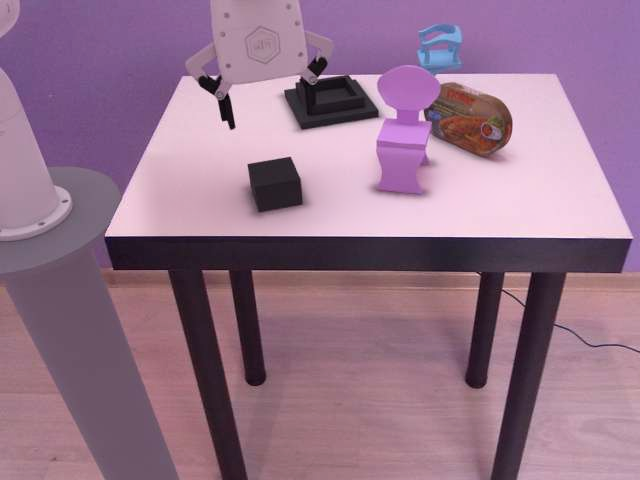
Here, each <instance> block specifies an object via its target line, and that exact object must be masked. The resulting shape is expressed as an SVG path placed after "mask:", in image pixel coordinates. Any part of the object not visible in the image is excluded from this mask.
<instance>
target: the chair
mask: <svg viewBox="0 0 640 480" xmlns="http://www.w3.org/2000/svg"><path fill="white" fill-rule="evenodd" d="M461 30H462V29H461V28H460V27H459V26H457V25H455V24H451V23H450V24H449V23H437V24H434V25H431V26H428V27H427V28H425V29H423V30H418V31H417V33H418V35H419V38H420V49H417V50H416V57H417V60H418V63H419V64H418V65H419V66H418V67H420V68H423V69H424V70H426V71H428V72H429V73H431V74H432V75H433V76H434V77H436V76H437V75H438V74H440V73H443V72H446V71H450V70H461V69H462V65H463V63H462V61H461V58H460V57H459V52H460V49H461V47H462V43H463V34H462V31H461ZM434 32H442V34H439V35H437V36H435V37H433V38H432V39H430V40H427V41H426V39H425V37H426V36H428V35H430V34H432V33H434ZM443 44H444V45H445V44H446V45H448V48H443V49H430V48H432V47H435V46H438V45H443ZM452 82H453V83H457V82H456V81H452ZM442 84H443V83H440V85H442Z"/></svg>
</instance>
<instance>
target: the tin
mask: <svg viewBox="0 0 640 480" xmlns="http://www.w3.org/2000/svg"><path fill="white" fill-rule="evenodd" d="M453 82H454V81H451V82H444V83H441V84H442V85H440V86H441V90H440V93H439V96H438V97H437V99H436V100H435V101H434V102H433V103H432V104H431V105H430V106H429V108H426V109H423V110H422V111H423V116H424V121H430V122H432V126H431V133H433V135H434V136H436V137H437V138H439V139H441V140H443V141H446V142H448V143H450V144H453V145H455V146H457V147H460V148H462V149H464V150H466V151H469V152H471V153H473V154H475V155H478V156H482V157H486V156H487V157H488V156H491V155H494V154H496V153H497V151H500V150H502V149H504V148H505V147H506V145H507V144H509V142H510V140H511V137H512V134H513V127H514V126H513V125H514V124H513V122H514V121H513V116H512V113H511V111H510V109H509V107H507V105H506V103H504V101H502V100H501V99H500V98H498V97H496V96H493V95H490V94H488V93H485V92H482V91H479V90H476V89H474V88H471V87H468V86H465V85H462V84H460V83H457V82H456V83H453Z"/></svg>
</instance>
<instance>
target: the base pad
mask: <svg viewBox="0 0 640 480" xmlns="http://www.w3.org/2000/svg"><path fill="white" fill-rule="evenodd" d="M283 92H284V97H285V100H286V101H287V103H288V106H289V108H290V110H291V112H292V115H294V117H295V119H296V122H297V123H298V125H299V128H300V129H301V130H305V129H313V128H319V127H325V126H330V125H336V124H342V123H349V122H355V121H361V120H366V119H368V120H369V119H373V118H379V116H380V115H379V114H380V112H379V108H378V107H377V106H376V104H375V103H374V102H373V101H372V99H371V98H370V96H369V95H368V94H367V93H366V91H365V90H364V89H363V87H362V86H361V84H360V83H359V82H358V81H357V79H352V77H351V76H350V74H343V75H337V76H336V75H335V76H330V77H329V76H328V77H323V78H322V77H321V78H318V81H317V83H316V84H315V94H316V105H315V106H312V108H313V116H308V115H306V113H305V111H304V109H303V107H302V101H301V91H300V81H296V82H295V87H294V88H288V89H287V88H286V89H284V90H283Z"/></svg>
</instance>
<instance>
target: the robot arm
mask: <svg viewBox="0 0 640 480" xmlns="http://www.w3.org/2000/svg"><path fill="white" fill-rule="evenodd" d="M20 2H21V1H20V0H0V39H1V38H2V37H3V36H5V35H6V34H7V33H8V32H9V31H10V30H11V29H12V28H13V27H14V26H15V25H16V23H17V21H18V19H19V16H20V13H21V3H20ZM209 6H210V22H211V30H212V31H211V32H212V41H211V42H210V43H209V44H207V45H206V46H205V47H203V48H202V49H200V50H199V51H197V52H196V53H195V54H194V55H192V56H191V57H189V58H188V59H186V60H185V63H184V64H185V69H186V71H187V73H189V74H190V76H191V77H192V78H193V79H194V81H196V82H197V84H198V85H199V87H200V88H202V89H203V90H205V91H206V92H208V93H209V94H211V95H212V96H213V97H215V99H216V101H217V105H218V110H219V115H220V119H221V122H222V123H223V122H227V124H228V128H229V131H233V130H235V129H236V121H235V116H234V110H233V105H232V99H231V96H230V93H229V91H230V90H231V88H232V86H235V85H236V86H237V85H238V86H239V85H246V84H253V83H260V82H266V81H271V80H272V81H273V80H278V79H284V78H289V77H294V76H298V75H299V76H300V78H299V79H298V82H300V91H301V101H302V107H303V109H304V111H305V113H306V115H308V116H313V108H312V106H315V105H316V94H315V84H316V83H317V81H318V79H319V77H320V76H321V74H322V73H323V72H324V71H325V69H327V67H328V63H329V61H330V58H331V56H332V53H333V51H334V49H335V43H334V42H333V41H332V39H331V38H329V37H326V36H323V35H320V34H319V33H315V32H313V31H310V30H307V29H304V28H305V27H304V21H303V16H302V11H301V6H300V0H209ZM307 45H308V46H311V47H314V48H315V49H318V51H317V54H316V55H315V57H314V58H313V59H312V60H311V62H310V63H309V58H308V55H309V54H308V49H307ZM214 59H216V62H217V66H218V70H219V72H218V74H217V75H216V77H215V78H213V77H211V76H210V75H208V74H207V73H205V71H204V70H203V67H204V66H206V65H208V64H209V63H210V62H211V61H212V60H214ZM47 167H48V166H47V165H46V162H45V160H44V157H43V155H42V152H41V149H40V146H39V144H38V142H37V139H36V137H35V133H34V132H33V129H32V126H31V124H30V122H29V119H28V116H27V114H26V111H25V108H24V106H23V103H22V102H21V100H20V97H19V95H18V92H17V89H16V88H15V86H14V84H13V81H11V79H10V77H9V76H8V75H7V73H6V72H5V70H4V69H2V67H0V241H17V240H23V239H27V238H31V237H34V236H37V235H40V234H42V233H45V232H47V231H49V230H51V229H53V228H54V227H56V226H57V225H59V224H60V223H61V222H62V221H64V220H65V219H66V218H67V216H68V215H69V214H70V212H71V210H72V207H73V202H72V199H71V196H70V194H69V193H68V192H67V191H66V190H65V189H63V188H61V187H58V186H55V185H53V182H52V179H51V177H50V174H49V172H48V169H47Z"/></svg>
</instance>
